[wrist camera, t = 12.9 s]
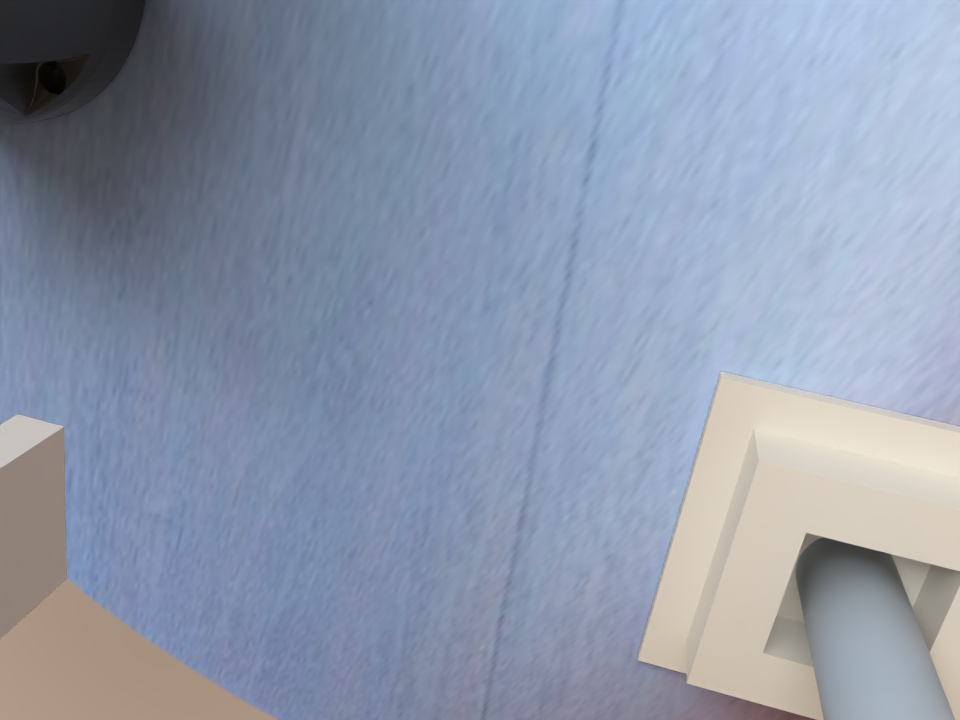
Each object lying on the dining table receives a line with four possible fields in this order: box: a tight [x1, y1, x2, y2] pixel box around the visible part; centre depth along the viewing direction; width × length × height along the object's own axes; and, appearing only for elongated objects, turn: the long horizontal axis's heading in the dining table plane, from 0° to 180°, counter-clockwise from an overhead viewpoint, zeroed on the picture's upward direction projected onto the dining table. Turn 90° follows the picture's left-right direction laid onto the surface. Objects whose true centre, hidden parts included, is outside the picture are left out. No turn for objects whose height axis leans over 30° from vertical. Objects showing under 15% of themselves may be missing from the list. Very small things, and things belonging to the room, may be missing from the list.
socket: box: [638, 371, 960, 720], centre depth 41 cm, size 16×16×4 cm
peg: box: [796, 537, 955, 720], centre depth 34 cm, size 4×4×16 cm
